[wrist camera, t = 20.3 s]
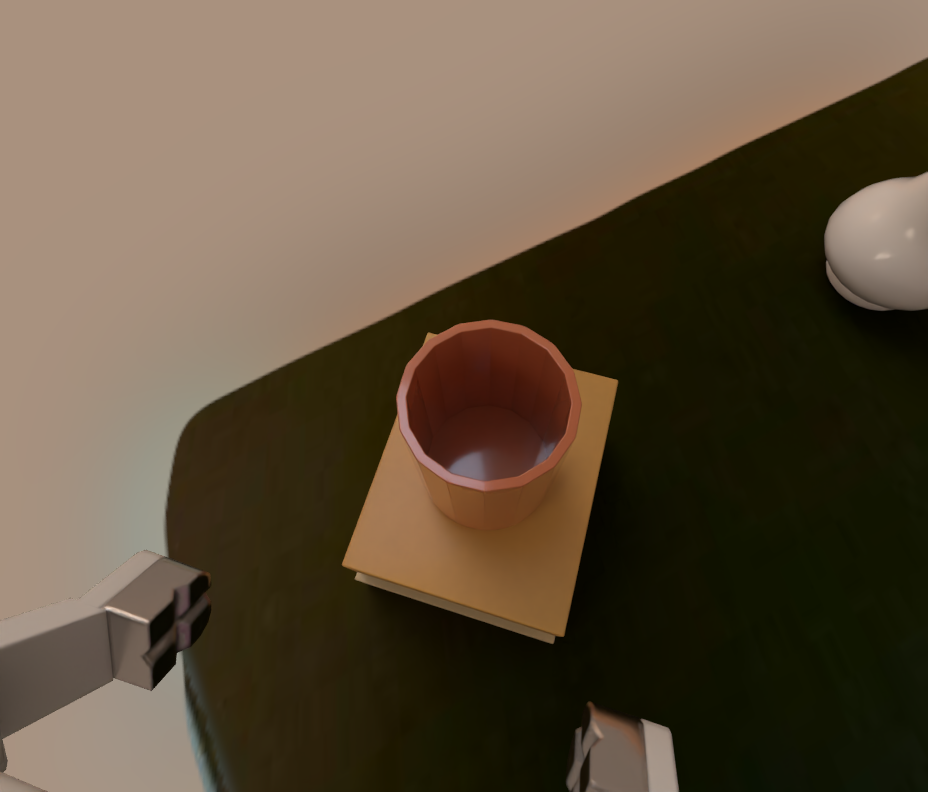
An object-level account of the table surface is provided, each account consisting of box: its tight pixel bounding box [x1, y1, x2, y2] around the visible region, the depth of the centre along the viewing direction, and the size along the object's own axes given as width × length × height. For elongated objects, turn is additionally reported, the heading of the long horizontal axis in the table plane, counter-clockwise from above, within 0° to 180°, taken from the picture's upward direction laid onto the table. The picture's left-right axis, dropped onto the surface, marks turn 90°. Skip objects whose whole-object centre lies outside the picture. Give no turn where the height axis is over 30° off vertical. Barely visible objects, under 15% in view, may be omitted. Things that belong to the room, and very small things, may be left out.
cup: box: [396, 320, 582, 531], centre depth 22 cm, size 6×6×8 cm
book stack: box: [342, 333, 618, 644], centre depth 30 cm, size 11×13×9 cm
